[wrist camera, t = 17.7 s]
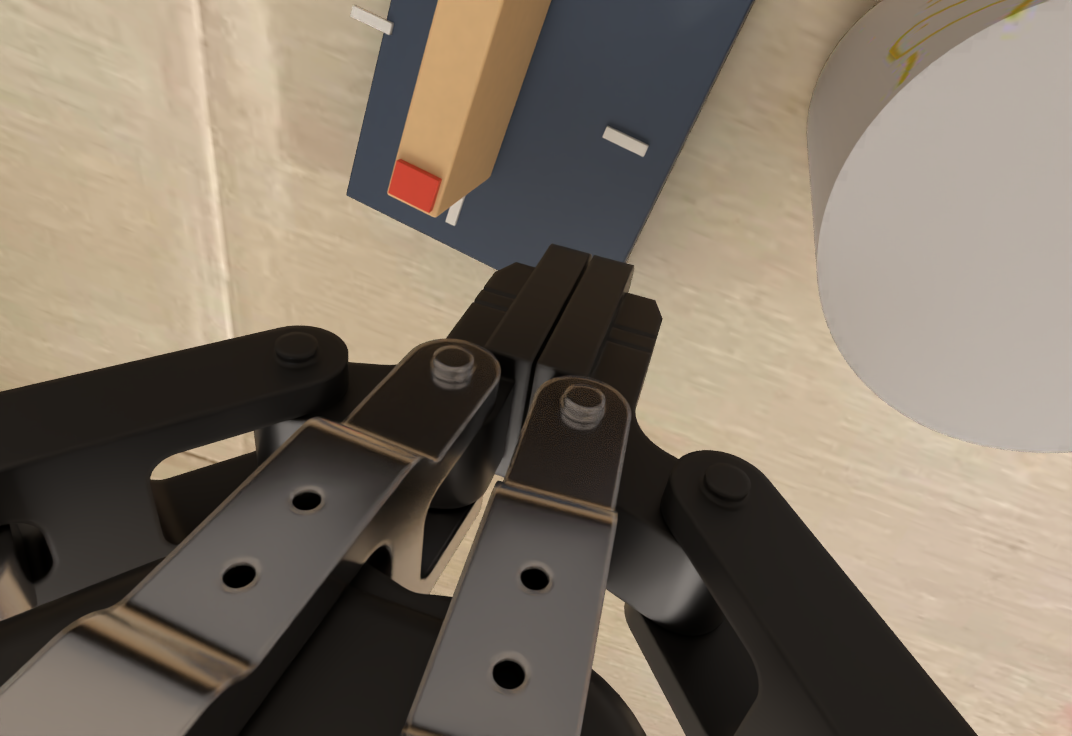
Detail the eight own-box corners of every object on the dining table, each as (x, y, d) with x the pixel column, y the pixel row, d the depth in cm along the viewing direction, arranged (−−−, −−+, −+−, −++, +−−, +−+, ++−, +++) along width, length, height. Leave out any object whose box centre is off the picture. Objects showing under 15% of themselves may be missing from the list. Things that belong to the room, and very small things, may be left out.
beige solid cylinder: (1181, 10, 20) (1580, 71, 10) (1010, 278, 24) (1164, 511, 14) (878, -69, 21) (958, -87, 11) (767, 201, 25) (750, 367, 15)
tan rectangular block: (506, -34, 21) (440, -31, 17) (555, -11, 21) (501, -2, 17) (447, 157, 25) (381, 197, 21) (490, 178, 24) (432, 222, 21)
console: (444, -200, 22) (397, -220, 20) (778, -48, 22) (776, -47, 19) (359, 162, 29) (315, 183, 26) (613, 287, 28) (595, 321, 26)
